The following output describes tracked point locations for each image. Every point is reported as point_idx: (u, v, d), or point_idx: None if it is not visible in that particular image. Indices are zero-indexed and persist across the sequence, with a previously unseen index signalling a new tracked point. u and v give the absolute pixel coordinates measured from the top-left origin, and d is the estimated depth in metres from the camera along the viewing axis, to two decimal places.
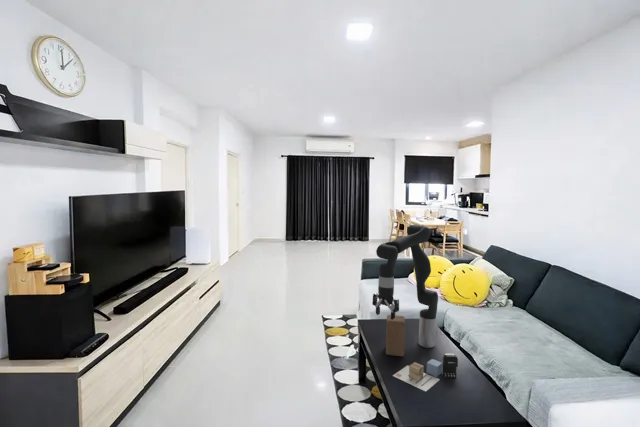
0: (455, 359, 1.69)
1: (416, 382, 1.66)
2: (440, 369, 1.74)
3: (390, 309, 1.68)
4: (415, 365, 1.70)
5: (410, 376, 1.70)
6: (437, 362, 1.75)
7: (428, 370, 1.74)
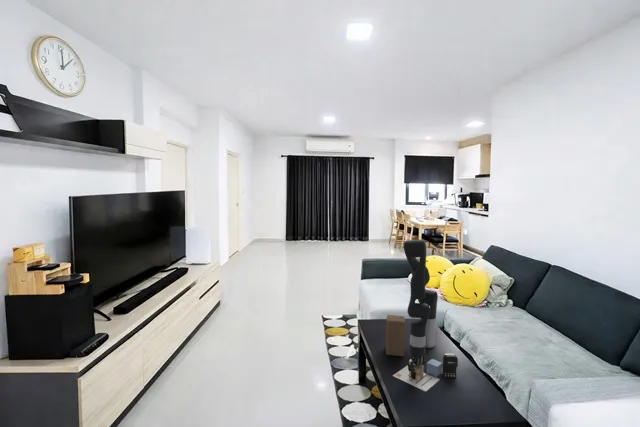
0: (455, 359, 1.69)
1: (416, 382, 1.66)
2: (440, 369, 1.74)
3: None
4: None
5: (410, 376, 1.70)
6: (437, 362, 1.75)
7: (428, 370, 1.74)
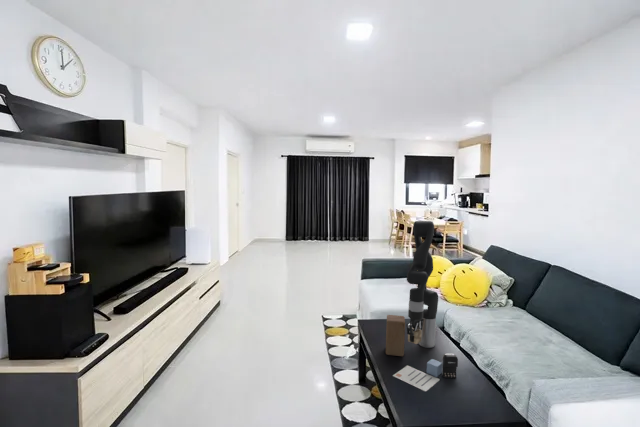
0: (455, 359, 1.69)
1: (416, 382, 1.66)
2: (440, 369, 1.74)
3: (419, 329, 1.82)
4: None
5: (409, 340, 1.81)
6: (437, 362, 1.75)
7: (428, 370, 1.74)
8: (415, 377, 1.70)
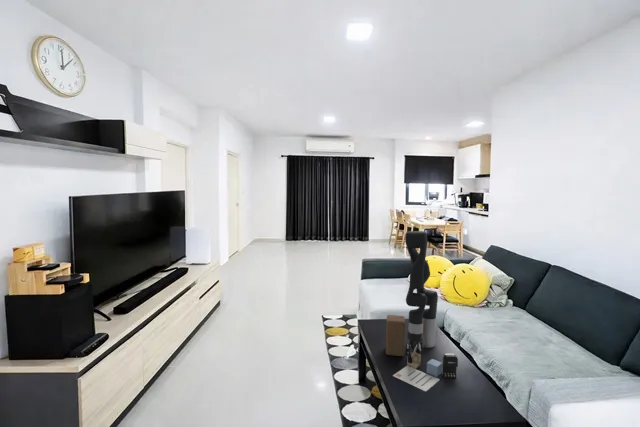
0: (455, 359, 1.69)
1: (416, 382, 1.66)
2: (440, 369, 1.74)
3: (419, 349, 1.83)
4: (413, 354, 1.82)
5: (408, 364, 1.82)
6: (437, 362, 1.75)
7: (428, 370, 1.74)
8: (415, 377, 1.70)
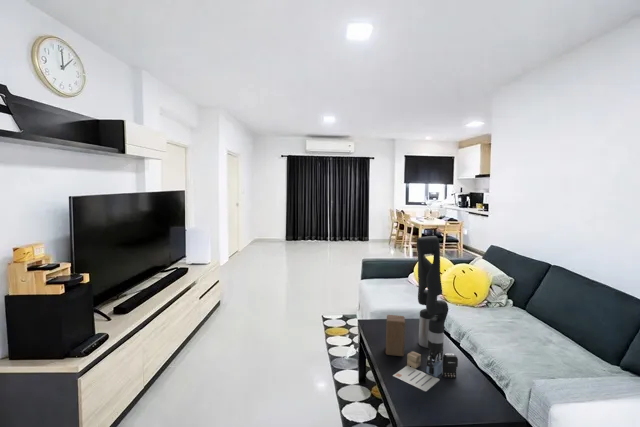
0: (455, 359, 1.69)
1: (416, 382, 1.66)
2: (440, 369, 1.74)
3: (439, 360, 1.76)
4: (413, 354, 1.82)
5: (408, 364, 1.82)
6: (437, 362, 1.75)
7: (428, 370, 1.74)
8: (415, 377, 1.70)
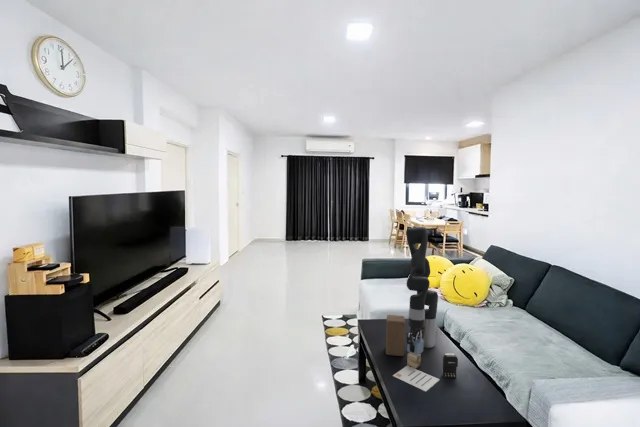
0: (455, 359, 1.69)
1: (416, 382, 1.66)
2: (421, 347, 1.69)
3: (420, 338, 1.70)
4: (413, 354, 1.82)
5: (408, 364, 1.82)
6: (418, 340, 1.70)
7: (409, 348, 1.69)
8: (415, 377, 1.70)
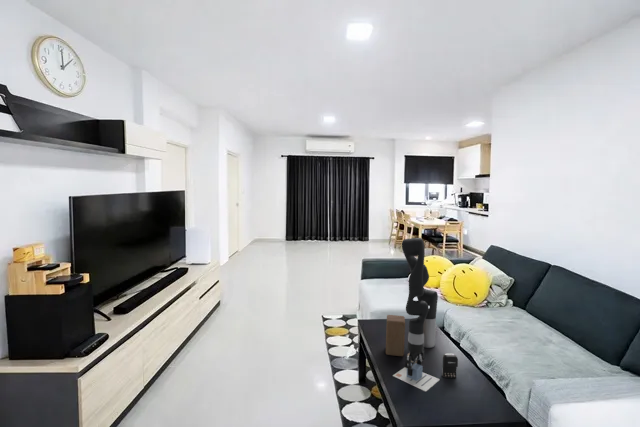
0: (455, 359, 1.69)
1: (416, 382, 1.66)
2: (420, 373, 1.70)
3: (420, 360, 1.72)
4: None
5: None
6: (417, 365, 1.71)
7: None
8: None
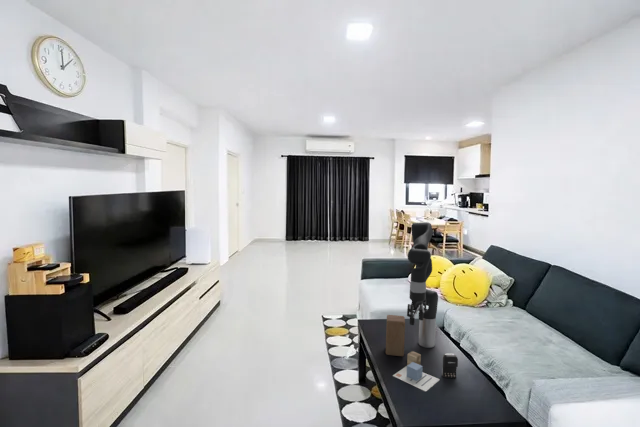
0: (455, 359, 1.69)
1: (416, 382, 1.66)
2: (420, 373, 1.70)
3: (422, 310, 1.70)
4: (413, 354, 1.82)
5: (408, 364, 1.82)
6: (417, 365, 1.71)
7: (408, 373, 1.70)
8: None
